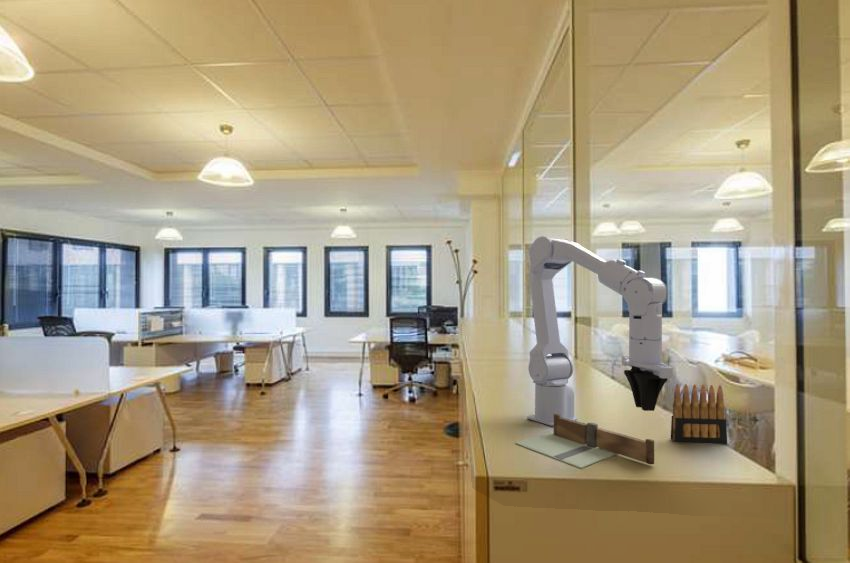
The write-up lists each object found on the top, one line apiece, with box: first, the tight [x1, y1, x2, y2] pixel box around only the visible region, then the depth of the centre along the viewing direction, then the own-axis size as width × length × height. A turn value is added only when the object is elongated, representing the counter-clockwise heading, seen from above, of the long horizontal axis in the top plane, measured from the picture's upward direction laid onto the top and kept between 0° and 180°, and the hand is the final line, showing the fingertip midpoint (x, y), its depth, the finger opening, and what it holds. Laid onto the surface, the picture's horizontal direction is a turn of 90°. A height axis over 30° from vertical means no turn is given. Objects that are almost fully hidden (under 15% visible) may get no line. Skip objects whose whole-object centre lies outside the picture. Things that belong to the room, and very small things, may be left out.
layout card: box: [514, 430, 618, 469], centre depth 85 cm, size 16×15×1 cm
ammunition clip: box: [670, 383, 728, 445], centre depth 90 cm, size 11×2×12 cm, turn 88°
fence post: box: [553, 414, 599, 448], centre depth 89 cm, size 2×10×4 cm, turn 37°
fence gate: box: [596, 427, 655, 465], centre depth 80 cm, size 11×1×4 cm, turn 37°
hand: (644, 408), depth 83 cm, fingers closed
